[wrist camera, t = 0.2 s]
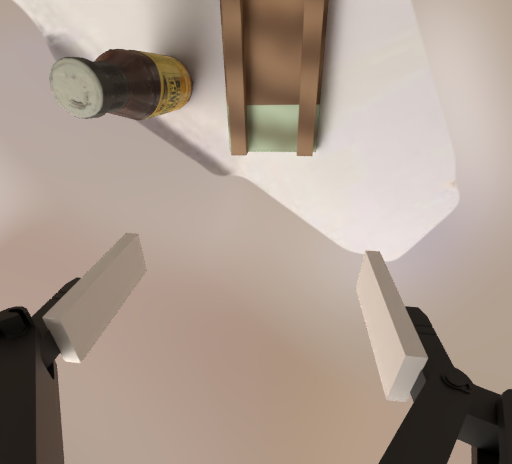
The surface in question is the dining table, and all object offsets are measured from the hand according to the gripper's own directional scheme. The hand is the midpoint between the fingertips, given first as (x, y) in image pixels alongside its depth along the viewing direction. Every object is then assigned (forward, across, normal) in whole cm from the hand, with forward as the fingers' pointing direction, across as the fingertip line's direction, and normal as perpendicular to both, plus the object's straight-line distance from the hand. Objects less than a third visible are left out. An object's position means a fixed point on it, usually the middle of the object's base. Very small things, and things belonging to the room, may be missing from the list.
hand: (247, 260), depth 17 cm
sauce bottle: (+28, -14, +8) cm, 32 cm away
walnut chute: (+28, -1, +11) cm, 30 cm away
